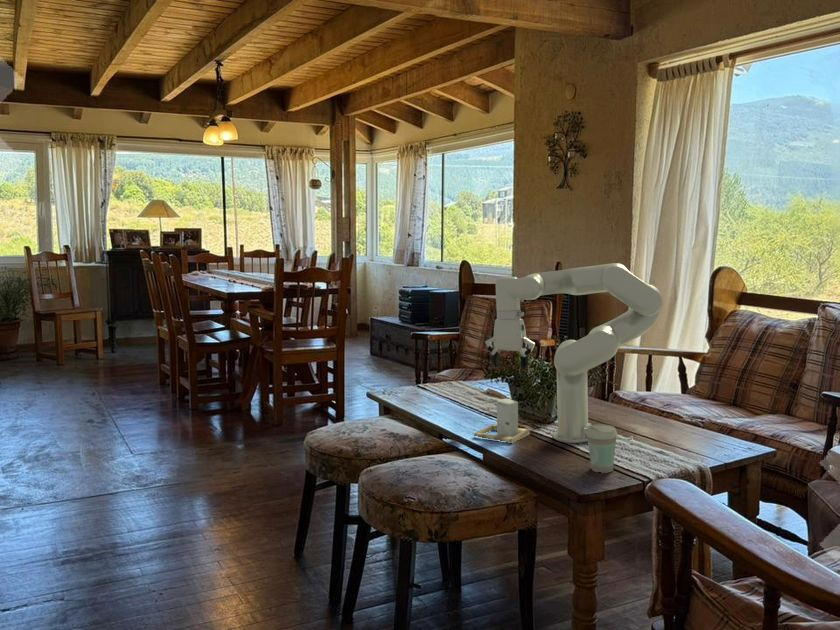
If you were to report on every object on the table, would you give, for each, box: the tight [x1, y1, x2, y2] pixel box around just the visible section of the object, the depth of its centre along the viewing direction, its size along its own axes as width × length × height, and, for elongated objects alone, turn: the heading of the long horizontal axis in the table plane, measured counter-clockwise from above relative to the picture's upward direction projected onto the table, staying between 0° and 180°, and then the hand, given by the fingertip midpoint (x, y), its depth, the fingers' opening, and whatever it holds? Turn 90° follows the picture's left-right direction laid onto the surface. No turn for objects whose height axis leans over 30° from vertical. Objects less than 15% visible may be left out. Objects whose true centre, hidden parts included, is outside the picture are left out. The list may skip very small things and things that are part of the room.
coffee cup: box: [586, 423, 619, 474], centre depth 202 cm, size 8×8×12 cm
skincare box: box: [496, 398, 519, 437], centre depth 235 cm, size 6×4×12 cm
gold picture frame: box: [473, 423, 531, 443], centre depth 237 cm, size 14×12×2 cm
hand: (510, 367), depth 234 cm, fingers open, 9 cm apart
